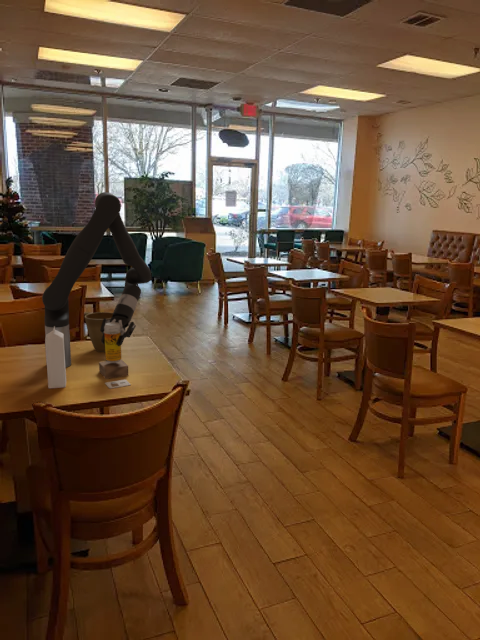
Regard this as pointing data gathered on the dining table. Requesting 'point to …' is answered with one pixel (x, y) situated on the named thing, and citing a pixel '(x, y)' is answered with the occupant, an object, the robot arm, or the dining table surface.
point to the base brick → (113, 369)
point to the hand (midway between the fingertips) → (110, 344)
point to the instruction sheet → (117, 384)
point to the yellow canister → (112, 342)
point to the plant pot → (97, 328)
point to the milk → (55, 359)
